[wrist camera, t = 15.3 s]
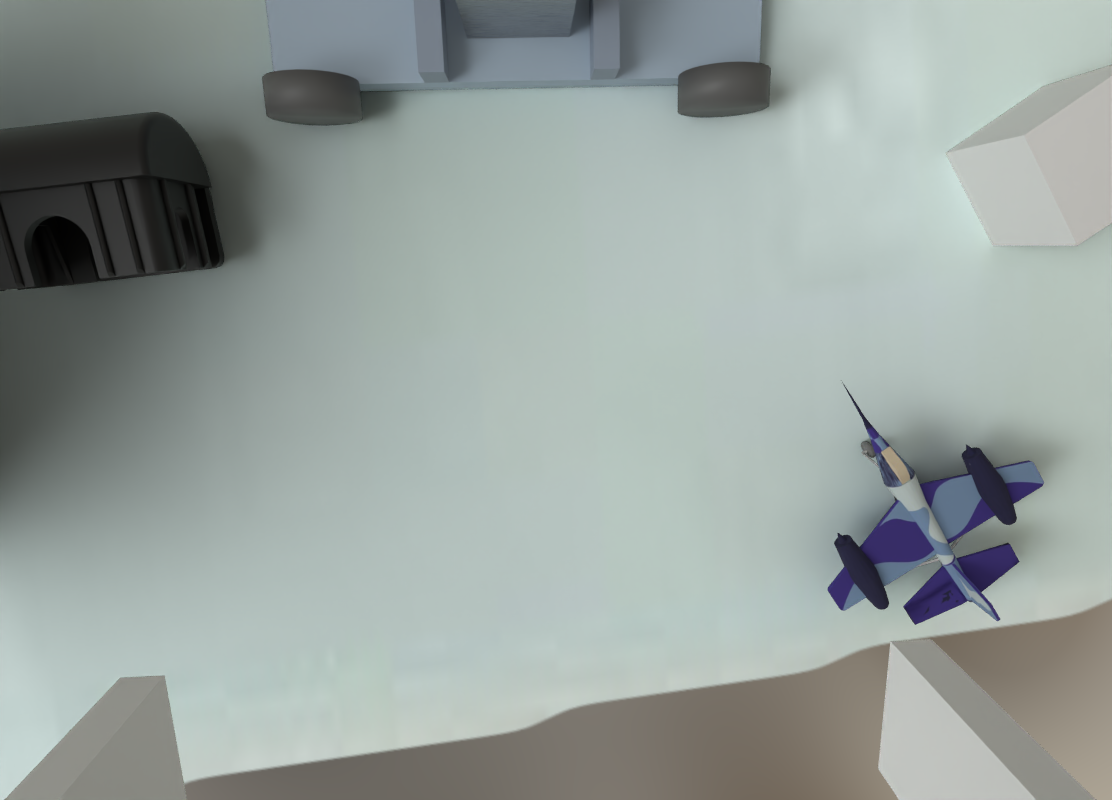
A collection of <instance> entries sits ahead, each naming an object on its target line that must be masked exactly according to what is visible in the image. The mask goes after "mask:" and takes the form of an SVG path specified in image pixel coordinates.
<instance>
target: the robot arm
mask: <svg viewBox="0 0 1112 800" xmlns="http://www.w3.org/2000/svg"><path fill="white" fill-rule="evenodd" d="M885 695H886V696H885V705H884V715H883V726H882V736H881V746H880V756H879V766H878V769H879V770H880V772H881V773H882V775H883V776H884V778H885V779H886V781H887V782H888V784H889V785H890V787H891V788H892V790H893V791H894V793H895V794H896V796H897V797H898V799H899V800H1096V799H1095V798H1094V797H1093V796H1092V795H1091V794H1090V793H1089V792H1088V791H1087V790H1086V789H1084V787H1082V785H1081V784H1080V783H1078V782H1077V781H1076V780H1075V779H1074V778H1073V777H1072V776H1071V775H1070V774H1069V773H1068V772H1067V771H1066V770H1065V769H1064V768H1063V767H1062V766H1061V765H1060V764H1059V763H1058V762H1057V761H1056V760H1055V759H1054V758H1053V757H1052V756H1051V755H1050V754H1049V753H1048V752H1047V751H1046V750H1044V748H1043V747H1041V746H1040V745H1039V744H1038V743H1037V742H1036V741H1035V740H1034V739H1033V738H1032V737H1031V736H1030V735H1029V734H1028V733H1027V732H1026V731H1025V730H1024V729H1023V728H1022V727H1021V726H1020V725H1019V724H1018V723H1017V722H1016V721H1014V719H1013V718H1012V717H1011V716H1010V715H1009V714H1008V713H1006V712H1005V711H1004V710H1003V709H1002V708H1001V707H1000V706H999V705H998V704H997V703H996V702H995V701H994V700H993V699H992V698H991V697H990V696H989V695H988V694H987V693H986V692H985V691H984V690H983V689H982V688H981V687H980V686H979V685H978V684H977V683H976V682H974V680H972V678H970V676H969V675H967V674H966V673H965V672H964V671H963V670H962V669H961V668H960V667H959V666H958V665H957V664H956V663H955V662H954V661H953V660H952V659H951V658H950V657H949V656H948V655H947V654H946V653H945V652H944V651H943V650H942V649H941V648H940V647H939V646H938V645H937V644H935V642H934V641H933V640H932V639H930V640H909V641H891V643H890V654H889V664H888V674H887V684H886V694H885ZM5 800H187V798H186V792H185V787H184V781H183V776H182V770H181V764H180V759H179V753H178V748H177V742H176V737H175V731H174V726H173V720H172V714H171V709H170V703H169V698H168V692H167V687H166V681H165V676H145V677H124V678H120V679H119V680H118V681H117V682H116V683H115V684H114V685H113V686H112V687H111V688H110V689H109V690H108V691H107V692H106V693H105V694H104V696H103V697H102V698H101V699H100V700H99V701H98V702H97V703H96V704H95V705H94V706H93V707H92V708H91V709H90V710H89V711H88V712H87V713H86V714H85V716H84V717H83V718H82V719H81V720H80V721H79V722H78V723H77V724H76V725H75V726H74V727H73V728H72V729H71V730H70V731H69V732H68V733H67V734H66V736H65V737H64V738H63V739H62V740H61V741H60V742H59V743H58V744H57V745H56V746H55V747H54V748H53V749H52V750H51V751H50V752H49V753H48V754H47V756H46V757H45V758H44V759H43V760H42V761H41V762H40V763H39V764H38V765H37V766H36V767H35V768H34V769H33V770H32V771H31V772H30V773H29V774H28V776H27V777H26V778H25V779H24V780H23V781H22V782H21V783H20V784H19V785H18V786H17V787H16V788H15V789H14V790H13V791H12V792H11V793H10V794H9V796H8V797H7V798H6V799H5Z"/></svg>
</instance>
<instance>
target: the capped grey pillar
mask: <svg viewBox="0 0 1112 800" xmlns="http://www.w3.org/2000/svg"><path fill="white" fill-rule="evenodd" d="M456 3H457V6H458V9H459V13H460V16H461V20H462V23H463V26H464V30H465V33H466V36H467V39H471V38H533V37H569V36H570V31H571V25H572V20H573V15H574V10H575V4H576V0H456Z"/></svg>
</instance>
